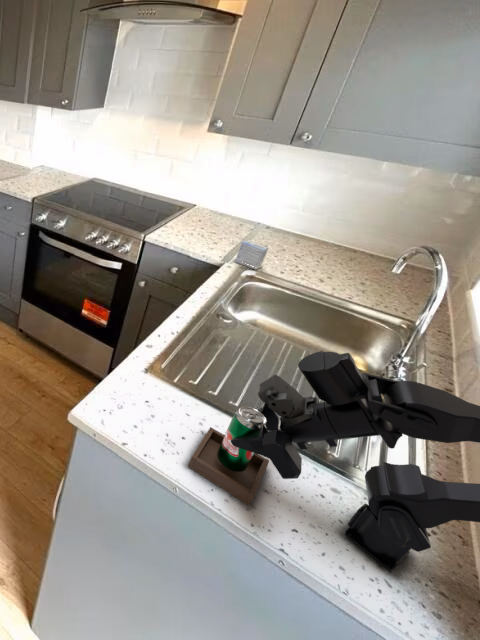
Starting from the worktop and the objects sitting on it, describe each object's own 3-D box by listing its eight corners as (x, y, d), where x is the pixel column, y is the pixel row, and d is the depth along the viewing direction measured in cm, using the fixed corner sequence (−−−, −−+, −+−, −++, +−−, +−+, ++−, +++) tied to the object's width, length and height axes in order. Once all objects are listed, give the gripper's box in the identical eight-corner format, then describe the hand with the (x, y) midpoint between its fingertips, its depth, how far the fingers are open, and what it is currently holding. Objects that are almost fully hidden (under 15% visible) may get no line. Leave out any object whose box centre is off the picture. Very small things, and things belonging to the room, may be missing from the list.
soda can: (210, 450, 83) (230, 404, 78) (236, 451, 83) (258, 405, 78) (224, 473, 78) (246, 426, 73) (251, 474, 79) (275, 427, 73)
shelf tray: (264, 469, 82) (269, 460, 81) (249, 505, 75) (254, 496, 74) (206, 435, 88) (210, 426, 87) (187, 466, 82) (191, 456, 80)
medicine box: (260, 267, 163) (269, 247, 159) (255, 270, 161) (263, 249, 157) (239, 259, 169) (247, 239, 165) (234, 261, 167) (241, 241, 163)
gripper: (306, 348, 75) (218, 369, 86) (303, 410, 62) (199, 426, 72) (342, 403, 75) (249, 417, 85) (348, 478, 61) (236, 484, 72)
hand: (233, 433), depth 79 cm, fingers closed on soda can, 5 cm apart
